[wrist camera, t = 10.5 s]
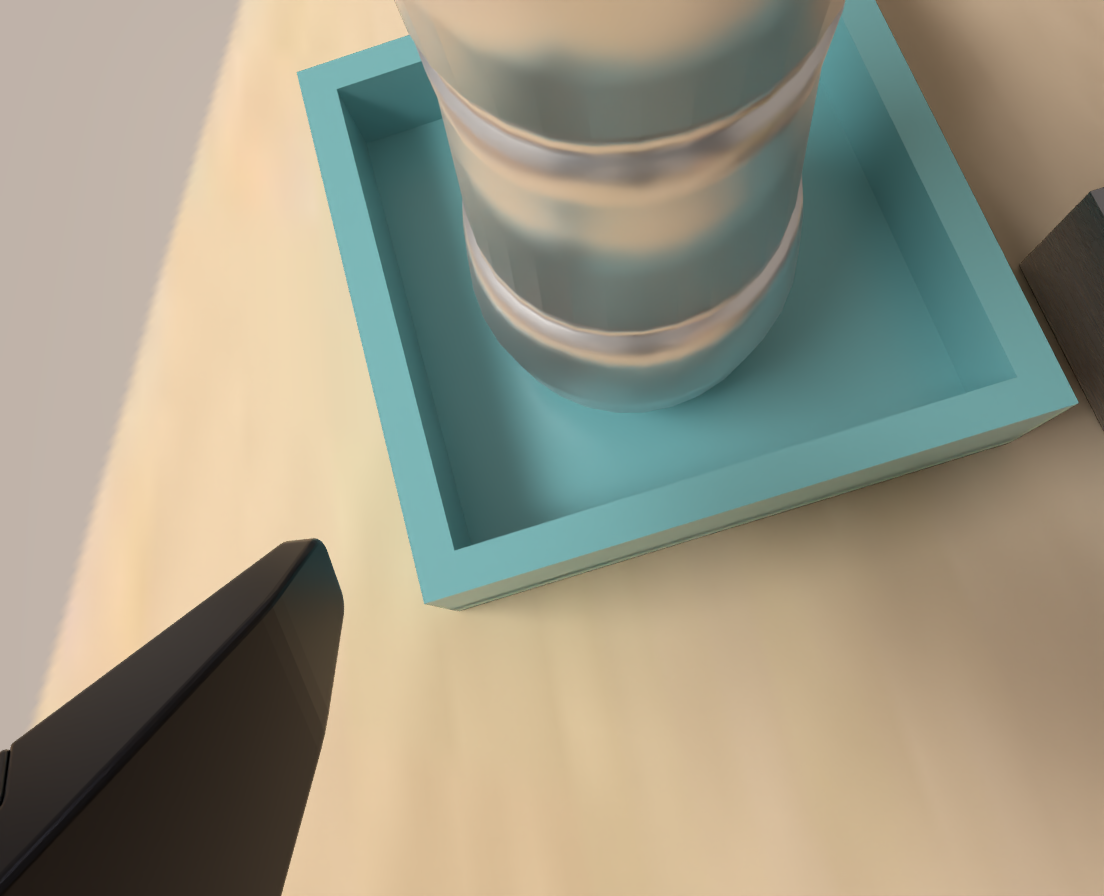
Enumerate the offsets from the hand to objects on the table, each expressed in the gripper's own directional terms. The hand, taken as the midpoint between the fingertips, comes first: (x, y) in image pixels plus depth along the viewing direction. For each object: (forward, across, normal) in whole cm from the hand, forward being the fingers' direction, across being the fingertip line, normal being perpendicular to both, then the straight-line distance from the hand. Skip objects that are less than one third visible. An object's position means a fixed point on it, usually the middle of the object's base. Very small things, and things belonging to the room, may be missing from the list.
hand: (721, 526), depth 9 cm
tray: (+11, 0, +1) cm, 11 cm away
